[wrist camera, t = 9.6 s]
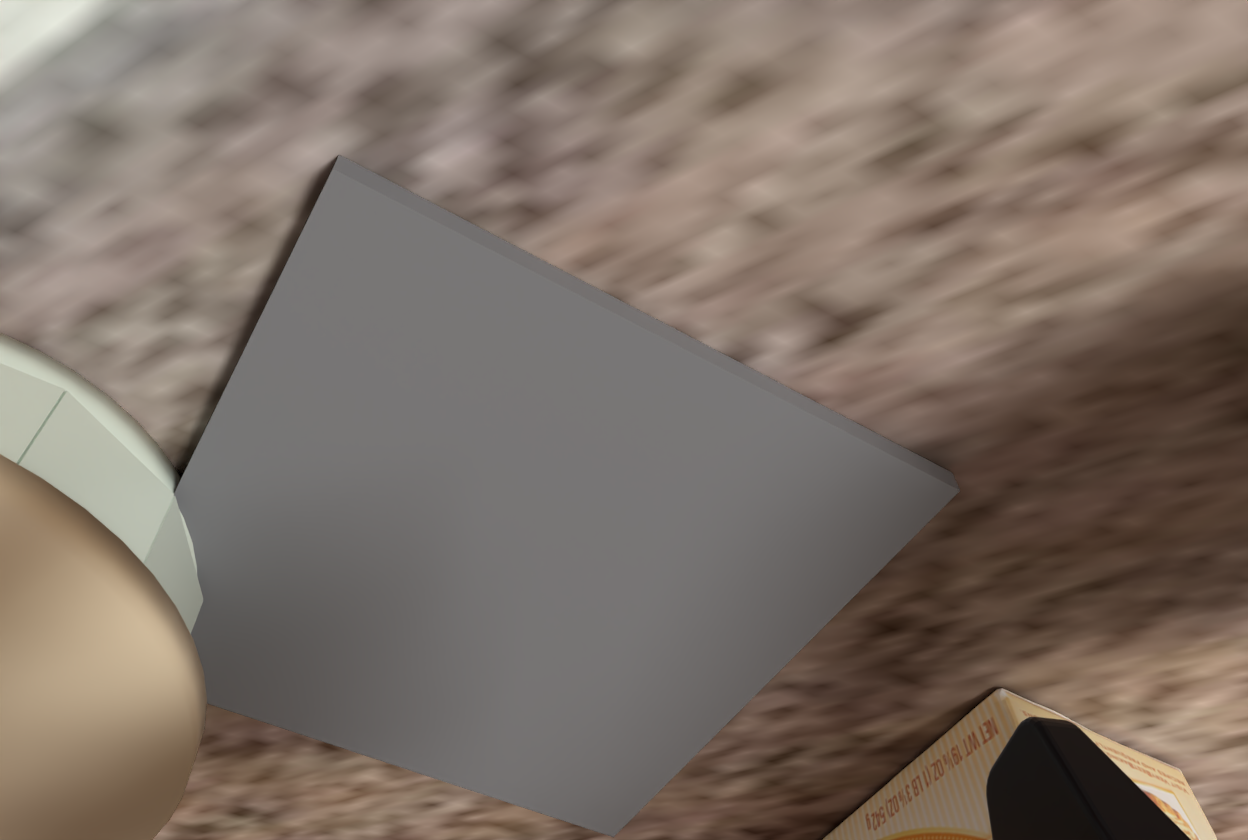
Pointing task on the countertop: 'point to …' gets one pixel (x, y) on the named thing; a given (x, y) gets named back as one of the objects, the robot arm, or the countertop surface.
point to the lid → (87, 676)
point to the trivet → (514, 516)
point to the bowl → (98, 463)
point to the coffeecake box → (959, 768)
